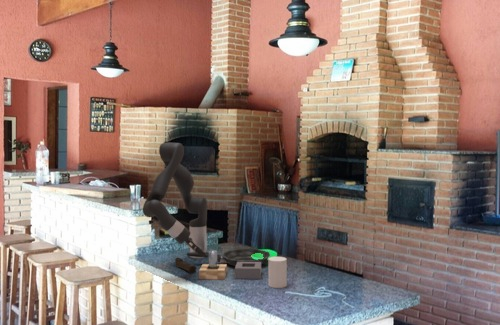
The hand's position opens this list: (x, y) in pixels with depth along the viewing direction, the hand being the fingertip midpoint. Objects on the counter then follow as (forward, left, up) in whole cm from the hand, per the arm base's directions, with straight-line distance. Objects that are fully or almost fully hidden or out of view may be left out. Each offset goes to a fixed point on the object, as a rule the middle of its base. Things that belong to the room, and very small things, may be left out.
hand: (202, 253), depth 241 cm
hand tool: (-12, -12, -12) cm, 21 cm away
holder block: (-3, +22, -11) cm, 25 cm away
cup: (+12, +36, -11) cm, 39 cm away
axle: (-2, +5, -11) cm, 12 cm away
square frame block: (-2, +5, -11) cm, 12 cm away
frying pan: (-24, +12, -11) cm, 29 cm away
